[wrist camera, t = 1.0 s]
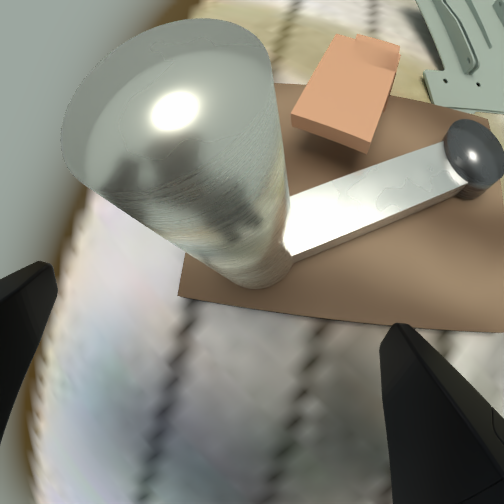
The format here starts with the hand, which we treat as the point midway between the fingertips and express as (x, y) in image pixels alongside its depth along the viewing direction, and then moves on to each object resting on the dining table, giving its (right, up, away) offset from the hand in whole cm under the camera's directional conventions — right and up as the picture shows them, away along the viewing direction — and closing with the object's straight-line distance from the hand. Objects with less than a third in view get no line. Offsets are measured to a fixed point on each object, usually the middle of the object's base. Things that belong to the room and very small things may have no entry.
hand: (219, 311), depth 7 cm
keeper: (+6, +9, +9) cm, 14 cm away
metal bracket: (+19, +17, +10) cm, 28 cm away
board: (+7, +4, +8) cm, 12 cm away
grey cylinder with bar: (+7, +4, +7) cm, 10 cm away
